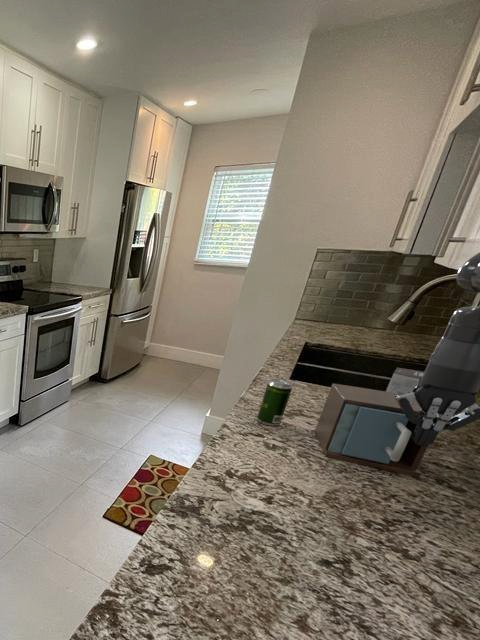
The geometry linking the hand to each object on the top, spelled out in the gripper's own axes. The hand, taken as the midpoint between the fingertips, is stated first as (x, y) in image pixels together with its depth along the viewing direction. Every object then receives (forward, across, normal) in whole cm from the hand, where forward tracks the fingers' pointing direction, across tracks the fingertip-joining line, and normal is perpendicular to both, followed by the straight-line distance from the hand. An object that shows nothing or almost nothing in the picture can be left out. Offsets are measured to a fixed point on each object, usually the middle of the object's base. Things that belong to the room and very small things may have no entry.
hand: (420, 444), depth 83 cm
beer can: (+9, -22, +20) cm, 31 cm away
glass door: (+8, -5, +3) cm, 10 cm away
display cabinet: (+9, -4, +13) cm, 16 cm away
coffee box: (+9, +6, +33) cm, 35 cm away
